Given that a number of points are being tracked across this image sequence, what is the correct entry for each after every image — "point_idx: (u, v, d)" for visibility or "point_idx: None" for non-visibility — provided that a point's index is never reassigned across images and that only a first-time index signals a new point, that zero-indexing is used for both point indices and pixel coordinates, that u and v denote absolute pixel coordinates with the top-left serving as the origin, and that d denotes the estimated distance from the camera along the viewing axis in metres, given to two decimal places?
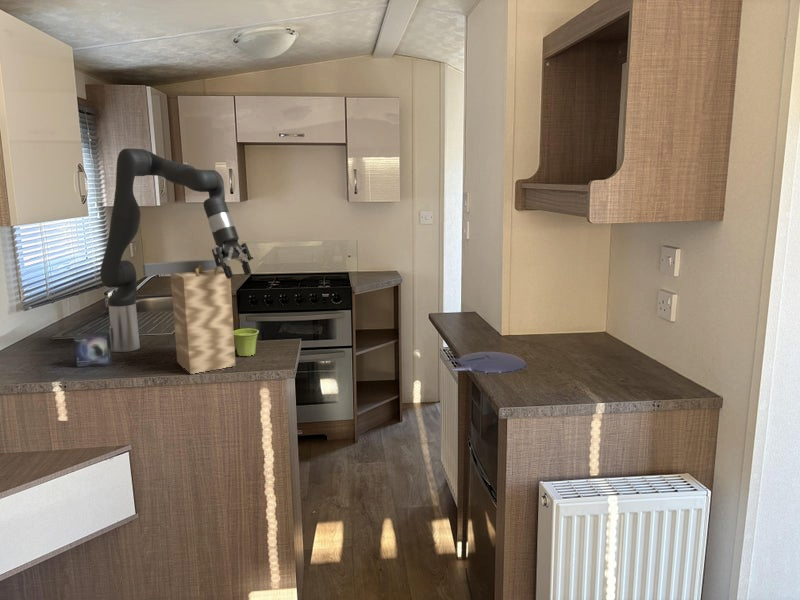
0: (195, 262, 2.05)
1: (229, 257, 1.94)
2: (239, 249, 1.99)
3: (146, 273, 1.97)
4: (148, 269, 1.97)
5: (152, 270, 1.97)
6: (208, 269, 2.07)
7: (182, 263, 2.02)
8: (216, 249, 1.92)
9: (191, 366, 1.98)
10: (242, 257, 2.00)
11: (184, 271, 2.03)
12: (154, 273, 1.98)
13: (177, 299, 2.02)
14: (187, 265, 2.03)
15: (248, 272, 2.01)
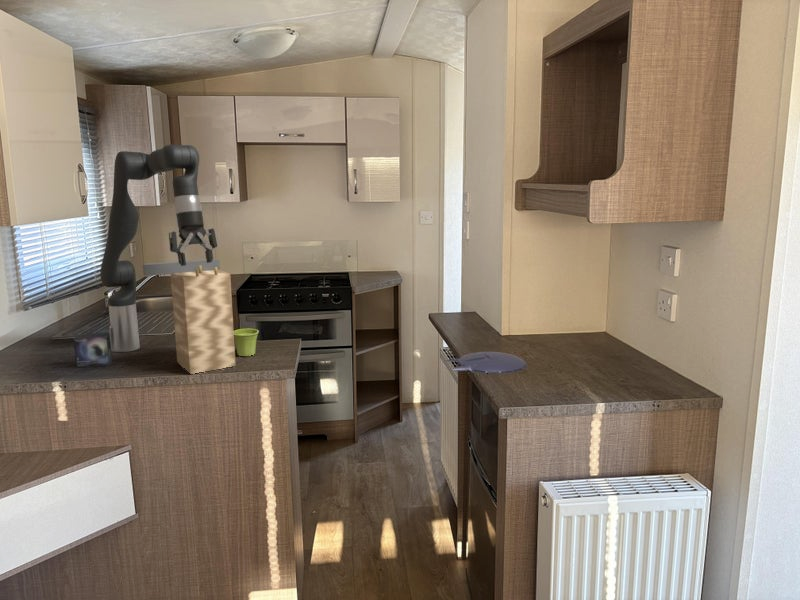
0: (195, 262, 2.05)
1: (185, 244, 1.84)
2: (201, 235, 1.87)
3: (146, 273, 1.97)
4: (148, 269, 1.97)
5: (152, 270, 1.97)
6: (208, 269, 2.07)
7: None
8: (171, 234, 1.81)
9: (191, 366, 1.98)
10: (204, 244, 1.88)
11: (184, 271, 2.03)
12: (154, 273, 1.98)
13: (177, 299, 2.02)
14: (187, 265, 2.03)
15: (209, 260, 1.90)
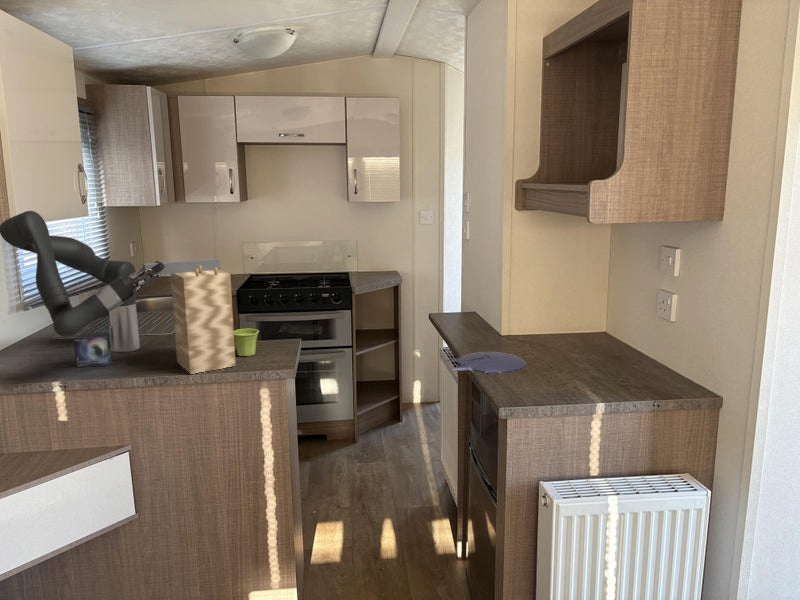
0: (195, 262, 2.05)
1: None
2: None
3: None
4: None
5: None
6: (208, 269, 2.07)
7: (182, 263, 2.02)
8: None
9: (191, 366, 1.98)
10: None
11: (184, 271, 2.03)
12: None
13: (177, 299, 2.02)
14: (187, 265, 2.03)
15: None
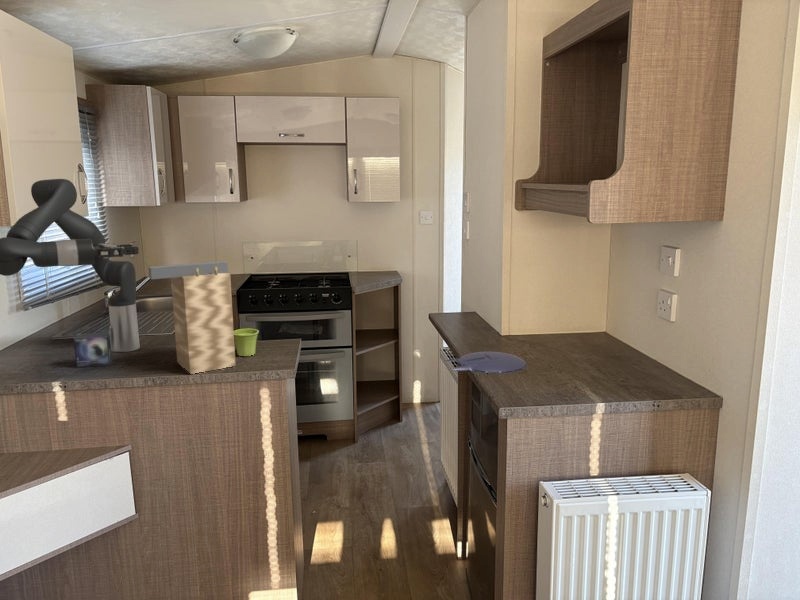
0: (202, 265, 1.97)
1: None
2: (106, 257, 1.77)
3: (152, 276, 1.89)
4: (154, 272, 1.90)
5: (158, 273, 1.90)
6: None
7: (189, 266, 1.95)
8: None
9: (191, 366, 1.98)
10: None
11: (191, 274, 1.96)
12: (160, 276, 1.91)
13: (177, 299, 2.02)
14: (195, 268, 1.96)
15: None
